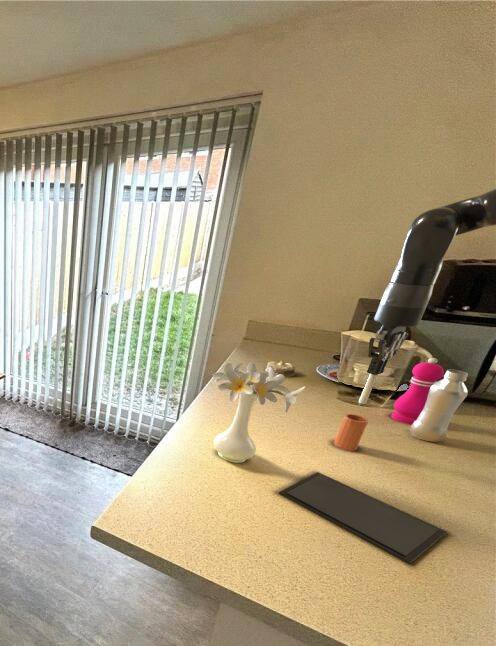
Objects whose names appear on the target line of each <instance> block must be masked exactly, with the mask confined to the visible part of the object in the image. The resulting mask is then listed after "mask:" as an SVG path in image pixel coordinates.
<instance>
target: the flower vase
mask: <svg viewBox="0 0 496 646" xmlns="http://www.w3.org/2000/svg"><path fill="white" fill-rule="evenodd" d="M242 365H243V363H242V362H241V363H238V364H236V365H235V366H234V368H233V363H231V362H229V363H227V364H225V365H224V368H223V372H222V371H221V372H215V373H213V374H212V375H211V377H212V378H217V379H216V380H215V381H214V383H220V382H222V383H220V384H219V385H218V386H217V389H218V390H220V391H223V392H228V391H230V392H229V395H228V397H229V401H230V402H235V401H237V400H238V404H237V409H236V411H235V414H234V418H233V421H232V423H231V424H230V426H229V427H228V428H227V429H226V430H225V431H222V432H220V433H218V434H217V435H216V436H215V438H214V440H213V446H214V448H215V450H216V451H217V454H218V456H219V457H220V458H221V459H223V460H225V461H227V462H231V463H235V464H236V463H237V464H239V463H244V462H245V461H246V460H248V459H251V458H252V457H254V455H255V454H256V452H257V447H256V443H255V442H254V440H253V439H252V438H251V436H250V434H249V425H250V424H249V423H250V418H251V415H252V410H253V407H254V405H255V403H256V401H257V399H258V401H259V402H258V403H259V404H260V405H261V406H263V405H264V404H265V403H266V399H267V400H268V401H269V402H272V403H277V402H278V399H277V396H276V395H275V394H278V395H279V396H282V397H283V401H284V415H285V416H286V415H287V413H288V411H289V409H290V407H291V406H293V405H295V404H296V402H297V400H298V397H297V396H298V395H299V394H300V393H301V392H303V390H304V389H306V387H307V386H306V385H305V386H303V387H300V388H298V389H296V390H293V391H290V390H289V388H288V387H286V386H284V385H283V383H284V382H285V380H286V377H285V376H284V375H282V374H279V375H274V372H273V370H272V368H270V367H269V372H267V371H266V370H263V371H259V372H257V371H258V369H257V365H256V364H255V363H254V362H250V363H248V365H247V367H246V371H244V370H241V369H240V368H241V367H242ZM224 381H229V382H224ZM251 386H252V387H251Z"/></svg>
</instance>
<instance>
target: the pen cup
mask: <svg viewBox="0 0 496 646" xmlns="http://www.w3.org/2000/svg"><path fill="white" fill-rule="evenodd" d="M368 424H369V419H368V418H366V417H365V416H362V415H358V414H354V413H345V414H344V416H343V418H342V420H341V424H340V426H339V428H338V431H337V434H336V436H335V437H334V438H335V439H334V441H333V444H334V446H335V447H338V448H339V449H341V450H345V451H350V452H351V451H353V452H354V451H357V450H358V447H359V445H360V442H361V440H362V438H363V435H364V433H365V431H366V429H367V426H368Z"/></svg>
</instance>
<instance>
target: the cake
mask: <svg viewBox="0 0 496 646" xmlns="http://www.w3.org/2000/svg"><path fill="white" fill-rule="evenodd" d="M269 367H270V368H272V370H273V372H274V376H277V375H279V374H282V375H284V376H285V378H290V377H291V378H292V377H294V376H296V373H295V372H296V367H295V365H293V364H292V363H289V362H287V363H285V361H284V360H280V362H276V361H269V362H267V366H266V367H265V368H264V371H267V372H269Z"/></svg>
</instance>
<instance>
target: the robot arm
mask: <svg viewBox="0 0 496 646" xmlns="http://www.w3.org/2000/svg"><path fill="white" fill-rule="evenodd" d="M492 226H496V188H494V189H491V190H489V191H487V192H483V193H482V194H479V195H476V196H473V197H470V198H466V199H463V200H459V201H455V202H452V203H449V204H446V205H442V206H439V207H435V208H431V209H429V210H426V211H424V212H422V213H420V214H419V215H418V216H416V217H415V218H414V220H413V221H412V222H411V224H410V226H409V228H408V231H407V234H406V237H405V240H404V244H403V247H402V251H401V255H400V258H399V259H398V261H397V263H396V265H395V267H394V269H393V272H392V274H391V277H390V280H389V283H388V285H387V286H386V287H385V290H384V292H383V294H382V297H381V299H380V302H379V305H378V307H377V310H376V313H375V315H374V317H373V320H374V321H375V322H376V323H379V324H381V326H380V329H378V330H376V334H375V337H371V338H370V339H369V342H368V353H367V354H368V355H367V357H368V358H370V359H371V360H370V363H369V365H368V367H367V368H368V370H367V373H369V374H373V375H378V374H381V373H383V372H385V370H386V367H387V365H388V362H389V360H391V359H392V358H393V356H396V355H397V352H398V351H399V350H400V348H401V347H402V345H403V344H404V342H405V341H406V339H407V338H408V337H409V333H408V332H406V329H407V328H411V327H412V328H413V327H418V325H420V322H421V320H422V318H423V316H424V314H425V312H426V308H427V307H428V304H429V301H430V299H431V297H432V295H433V290H434V287H435V284H436V283H437V280H438V277H439V275H440V272H441V270H442V267H443V264H444V259H445V256H446V254H447V252H448V251H449V249H450V247H451V245H452V243H453V241H454V239H455V237H456V236H460V235H463V234H466V233H470V232H473V231H477V230H480V229H483V228H486V227H487V228H488V227H492ZM378 353H379V354H378Z"/></svg>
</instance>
